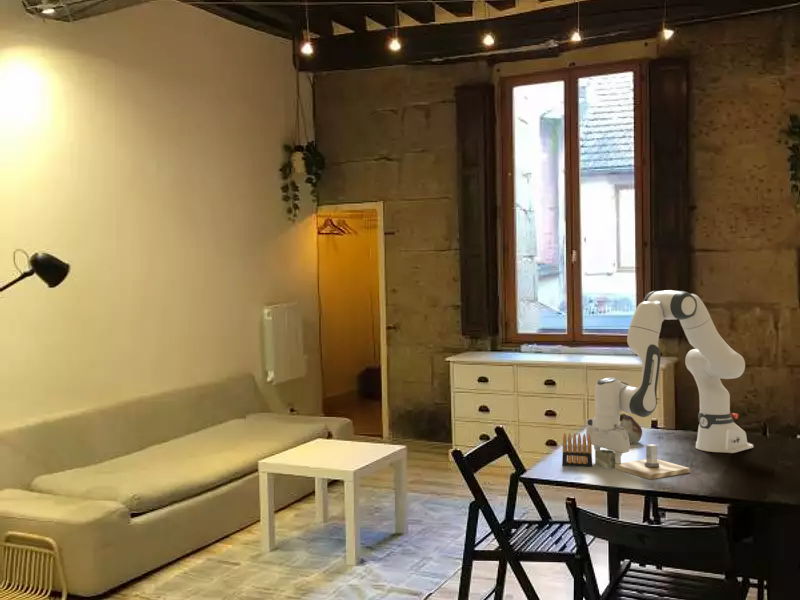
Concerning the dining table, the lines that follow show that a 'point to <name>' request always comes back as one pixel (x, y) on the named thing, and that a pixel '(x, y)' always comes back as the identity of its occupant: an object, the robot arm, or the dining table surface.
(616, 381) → the robot arm
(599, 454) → the collar
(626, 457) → the dining table surface
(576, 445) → the ammunition clip
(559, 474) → the dining table surface
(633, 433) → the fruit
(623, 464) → the shaft board
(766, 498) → the dining table surface
